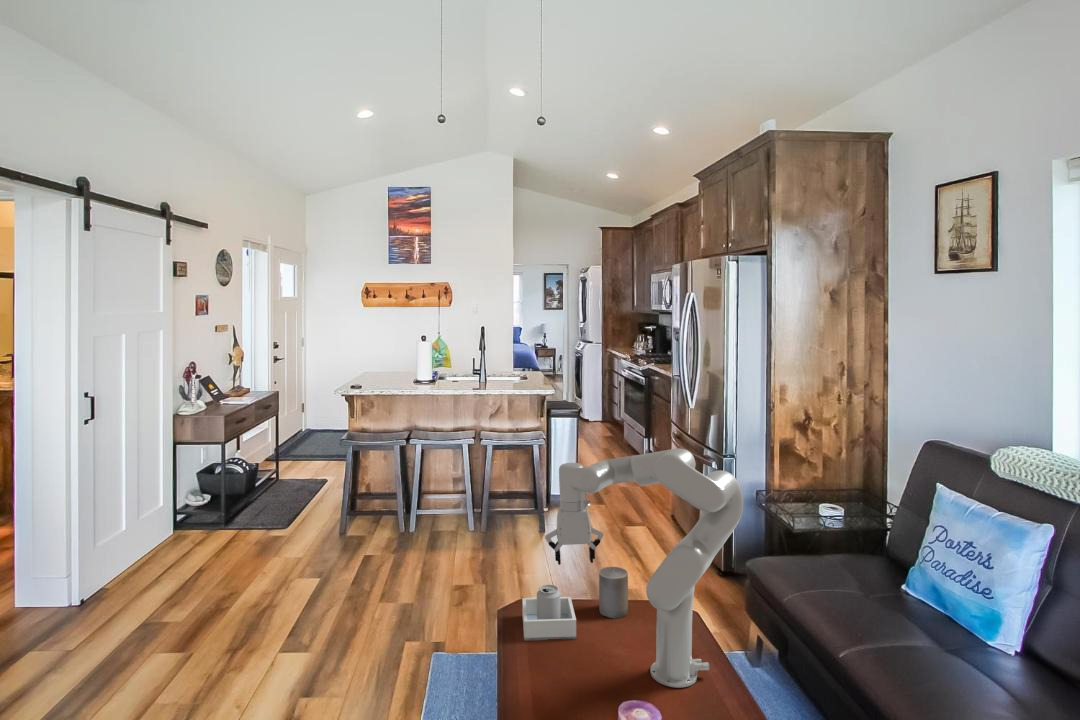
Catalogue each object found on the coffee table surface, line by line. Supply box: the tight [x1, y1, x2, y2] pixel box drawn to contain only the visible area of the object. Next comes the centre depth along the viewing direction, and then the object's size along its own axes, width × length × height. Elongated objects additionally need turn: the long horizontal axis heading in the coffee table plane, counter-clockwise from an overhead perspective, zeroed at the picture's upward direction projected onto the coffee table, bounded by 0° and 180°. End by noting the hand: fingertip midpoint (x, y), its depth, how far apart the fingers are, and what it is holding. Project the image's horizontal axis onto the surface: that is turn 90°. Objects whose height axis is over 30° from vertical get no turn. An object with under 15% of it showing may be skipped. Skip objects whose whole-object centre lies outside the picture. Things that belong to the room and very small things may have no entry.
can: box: [536, 584, 561, 620], centre depth 196 cm, size 8×8×12 cm
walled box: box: [521, 596, 577, 642], centre depth 197 cm, size 16×16×6 cm
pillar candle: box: [598, 566, 629, 619], centre depth 207 cm, size 10×10×15 cm
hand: (575, 562), depth 184 cm, fingers open, 9 cm apart
